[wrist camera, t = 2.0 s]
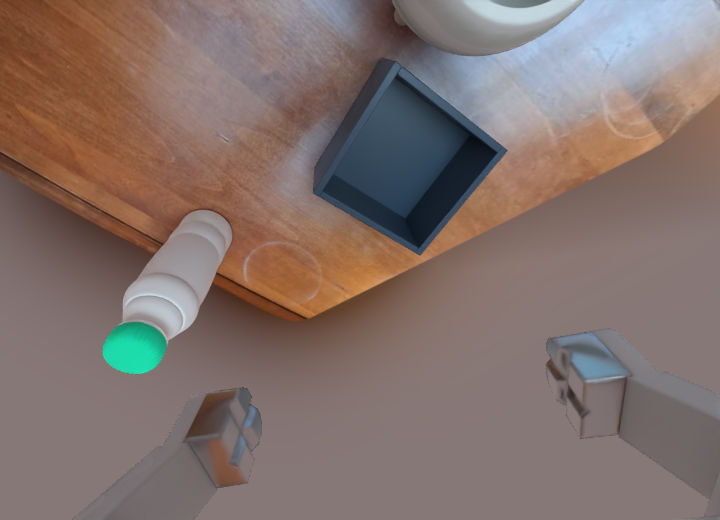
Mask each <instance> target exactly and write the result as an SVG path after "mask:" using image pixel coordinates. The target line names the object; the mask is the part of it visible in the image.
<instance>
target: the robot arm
mask: <svg viewBox="0 0 720 520" xmlns="http://www.w3.org/2000/svg"><path fill="white" fill-rule="evenodd" d="M546 351H547V353H548V354H549V356H550V357H551V358H550V360H549V361H548V362H547V363H546V375H547V379H548V383H549V386H550V388H551V391H552V393H553V395H554V396H555V398H556V400H557V401H558V402H560V403H562V404H563V405H565V406H566V416H567V418H568V419H569V421H570V423H571V424H572V426H573V427H574V429H575V431H576V432H577V434H578V436H579V437H580V439H584V438H594V437H603V436H613V435H619V437H620V438H621V439H623V440H624V441H626V442H627V443H628V444H630V445H631V446H633V447H635V448H636V449H637V450H639V451H640V452H641V453H643V454H644V455H646V456H647V457H649V458H650V459H652V460H653V461H654V462H656V463H657V464H659V465H660V466H662V467H663V468H664V469H666V470H667V471H669V472H670V473H672V474H673V475H675V476H676V477H677V478H679V479H680V480H682V481H683V482H685V483H686V484H688V485H689V486H690V487H692V488H693V489H695V490H696V491H698V492H699V493H701V494H702V495H703V496H705V497H706V498H708V499H709V502H708V505H707V508H706V511H705V514H704V517H697V518H687V519H678V520H720V394H719V393H717V392H714V391H712V390H709V389H707V388H704V387H702V386H699V385H697V384H695V383H692V382H690V381H687V380H685V379H682V378H680V377H677V376H675V375H673V374H670V373H668V372H661V373H659V372H658V371H657V370H656V369H655V368H654V367H653V366H652V365H651V364H650V363H649V362H648V361H646V359H645V358H643V357H642V356H641V355H640V354H639V353H638V352H637V351H636V350H635V349H634V348H633V347H632V346H631V345H630V344H629V343H628V342H627V341H626V340H625V339H624V338H623V337H622V336H621V335H620V334H619V333H618V332H617V331H616V330H614V329H612V328H605V329H599V330H594V331H589V332H584V333H578V334H572V335H566V336H560V337H554V338H548V340H547V343H546ZM251 398H252V396H251V394H250V392H249V390H248V389H247V388H244V387H242V388H236V389H228V390H220V391H213V392H209V393H201V394H194V395H192V396H191V397H190V398H189V399H188V401H187V402H186V404H185V406H184V408H183V410H182V412H181V413H180V415H179V417H178V419H177V421H176V423H175V424H174V426H173V428H172V430H171V432H170V433H169V435H168V437H167V439H166V441H165V442H164V444H163V446H158V447H156V448H155V449H154V450H153V451H152V452H150V453H149V454H148V455H147V456H146V457H145V458H143V459H142V460H141V461H140V462H139V463H137V465H135V466H134V467H133V468H132V469H130V470H129V471H128V472H127V473H126V474H125V475H124V476H122V477H121V478H120V479H119V480H118V481H116V482H115V483H114V484H113V485H112V486H111V487H109V488H108V489H107V490H106V491H105V492H104V493H102V494H101V495H100V496H99V497H98V498H97V499H95V500H94V501H93V502H92V503H91V504H90V505H88V506H87V507H86V508H85V509H84V510H82V511H81V512H80V513H79V514H78V515H77V516H75V517H74V518H73V519H72V520H194V519H195V518H196V517H197V516H198V514H199V513H200V512H201V510H202V509H203V508H204V506H205V505H206V504H207V502H208V501H209V500H210V499H211V497H212V496H213V495H214V493H215V492H216V491H217V489H216V488H222V487H228V486H234V485H240V484H245V483H248V481H249V477H250V473H251V470H252V467H253V463H254V460H255V459H254V457H253V455H252V451H253V450H254V449H255V448H256V446H257V445H258V444H259V442H260V438H261V434H262V421H261V416H260V413H259V411H258V409H257V408H256V407H254V406H253V405H251V404H250V401H251Z"/></svg>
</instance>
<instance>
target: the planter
mask: <svg viewBox="0 0 720 520" xmlns="http://www.w3.org/2000/svg"><path fill="white" fill-rule="evenodd" d="M391 1H392V3H393V5H394V7H395V8H396V9H395V11H394V19H395V21H396V23H397V24H399V25H401V26H405V25H407V26H408V27H409V28H410V29H411V30H412V31H413V32H414V33H415V34H416V35H417V36H418V37H420V38H421V39H422V40H424V41H425V42H427V43H428V44H430V45H432V46H434V47H436V48H438V49H440V50H443V51H445V52H448V53H452V54H457V55H463V56H485V55H492V54H497V53H501V52H505V51H508V50H511V49H514V48H517V47H519V46H522V45H524V44H526V43H528V42H530V41H532V40H534V39H536V38H538V37H539V36H541V35H543V34H544V33H546V32H547V31H549V30H550V29H552V28H553V27H555V26H556V25H557V24H559V23H560V22H561V21H563V20H564V19H565V18H566V17H567V16H569V15H570V14H571V13H572V12H573V11H574V10H575V9H576V8H577V7H578V6H579V5H580V4H581V3H582V2H583V1H584V0H391Z"/></svg>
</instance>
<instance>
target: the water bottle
mask: <svg viewBox="0 0 720 520" xmlns="http://www.w3.org/2000/svg"><path fill="white" fill-rule="evenodd" d="M231 241H232V230H231V227H230V225H229V223H228V222H227V221H226V220H225V219H224V218H223V217H222V216H221V215H219V214H218V213H215V212H213V211H209V210H196V211H193V212H191V213H189V214H188V215H186V216H185V217H184V219H183V220H182V221H181V223H180V224H179V226H178V228H176V229H175V230H174V231H173V233H172V234H171V235H170V237H169V238H168V240H167V242H166V243H165V244H164V245H163V246H162V247H161V248H160V249H159V250H158V252H157V253H156V254H155V255H154V256H153V258H152V259H151V260H150V261H149V263H148V264H147V265H146V267H145V268H144V270H143V271H142V273H141V274H140V276H139V277H138V279H137V280H135V281H134V282H133V283H132V284H131V285H130V286H129V287H128V289H127V291H126V293H125V295H124V298H123V322H122V323H120V324H119V325H118V326H117V327H116V328H114V330H113V331H112V332H111V333H110V334H109V336H108V337H107V339H106V341H105V343H104V345H103V357H104V358H105V360H106V362H108V364H109V365H111V367H114V368H115V369H118V370H119V371H123V372H127V373H131V374H139V373H141V374H142V373H146V372H148V371H150V370H152V369H153V368H155V367H156V366H157V365H158V364H159V362H160V361H161V359H162V357H163V356H164V354H165V351H166V348H167V344H168V340H170V339H171V338H173V337H174V336H176V335H177V334H179V333H181V332H182V331H184V330H185V329H187V328H188V327H189V326H190V325H191V324H192V323H193V322H194V320H195V318H196V316H197V314H198V310H199V306H200V305H201V303H202V302H203V300H204V298H205V296H206V294H207V292H208V290H209V288H210V286H211V284H212V282H213V279H214V277H215V274H216V272H217V268H218V267H219V266H220V264H221V262H222V260H223V258H224V255H225V253H226V251H227V250H228V248H229V246H230V244H231Z"/></svg>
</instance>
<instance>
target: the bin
mask: <svg viewBox="0 0 720 520" xmlns="http://www.w3.org/2000/svg"><path fill="white" fill-rule="evenodd" d="M507 151H508V150H507V149H505V148H504V147H503V146H502V145H500V144H499V143H498V142H496V141H495V140H494V139H493V138H491V137H490V136H489V135H488V134H486V133H485V132H484V131H483V130H481V129H480V128H479V127H478V126H476V125H475V124H474V123H473V122H471V121H470V120H469V119H468V118H466V117H465V116H464V115H463V114H461V113H460V112H459V111H458V110H456V109H455V108H454V107H453V106H451V105H450V104H449V103H448V102H446V101H445V100H444V99H443V98H441V97H440V96H439V95H437V94H436V93H435V92H434V91H432V90H431V89H430V88H429V87H427V86H426V85H425V84H424V83H422V82H421V81H420V80H419V79H417V78H416V77H415V76H414V75H412V74H411V73H410V72H409V71H407V70H406V69H405V68H404V67H402V66H401V65H400V64H399V63H397V62H396V61H392V60H388V59H384V58H381V59H380V61H379V62H378V64H377V66H376V67H375V69H374V71H373V72H372V74H371V75H370V77H369V79H368V80H367V82H366V84H365V85H364V87H363V89H362V90H361V92H360V94H359V95H358V97H357V98H356V100H355V102H354V103H353V105H352V107H351V108H350V110H349V112H348V113H347V115H346V117H345V118H344V120H343V121H342V123H341V125H340V126H339V128H338V130H337V131H336V133H335V135H334V136H333V138H332V139H331V141H330V143H329V144H328V146H327V148H326V149H325V151H324V153H323V154H322V156H321V158H320V159H319V161H318V162H317V164H316V166H315V172H314V185H313V193H314V194H315V195H317V196H319V197H320V198H322V199H324V200H326V201H327V202H329V203H331V204H332V205H334V206H336V207H338V208H339V209H341V210H343V211H344V212H346V213H348V214H350V215H351V216H353V217H355V218H357V219H358V220H360V221H362V222H363V223H365V224H367V225H369V226H370V227H372V228H374V229H375V230H377V231H379V232H381V233H382V234H384V235H386V236H387V237H389V238H391V239H393V240H394V241H396V242H398V243H399V244H401V245H403V246H405V247H406V248H408V249H410V250H411V251H413V252H415V253H416V254H418V255H421V254H422V253H423V252H424V250H425V249H426V248H427V247H428V246H429V244H430V243H431V242H432V241H433V240H434V238H435V237H436V236H437V235H438V234H439V232H440V231H441V230H442V229H443V228H444V226H445V225H446V224H447V223H448V222H449V220H450V219H451V218H452V217H453V216H454V214H455V213H456V212H457V211H458V210H459V208H460V207H461V206H462V205H463V204H464V202H465V201H466V200H467V199H468V198H469V196H470V195H471V194H472V193H473V192H474V190H475V189H476V188H477V187H478V186H479V184H480V183H481V182H482V181H483V180H484V178H485V177H486V176H487V175H488V174H489V172H490V171H491V170H492V169H493V168H494V166H495V165H496V164H497V163H498V162H499V161H500V159H501V158H502V157H503V156H504V155H505V153H506V152H507Z"/></svg>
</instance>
